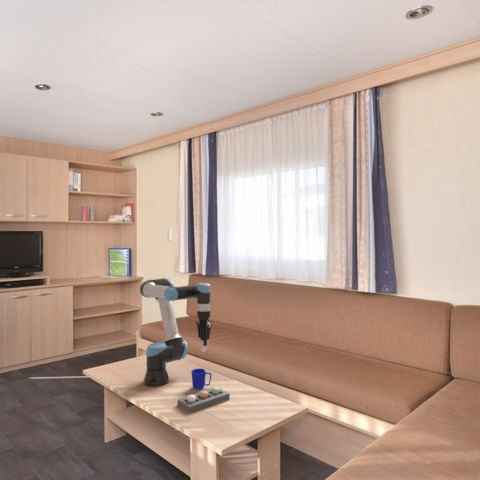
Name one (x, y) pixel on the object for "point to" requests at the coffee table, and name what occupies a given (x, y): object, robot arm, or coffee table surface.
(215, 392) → the button sage
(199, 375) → the mug
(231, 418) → the coffee table surface
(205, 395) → the button terracotta
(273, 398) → the coffee table surface
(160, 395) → the coffee table surface
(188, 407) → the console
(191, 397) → the button ivory
